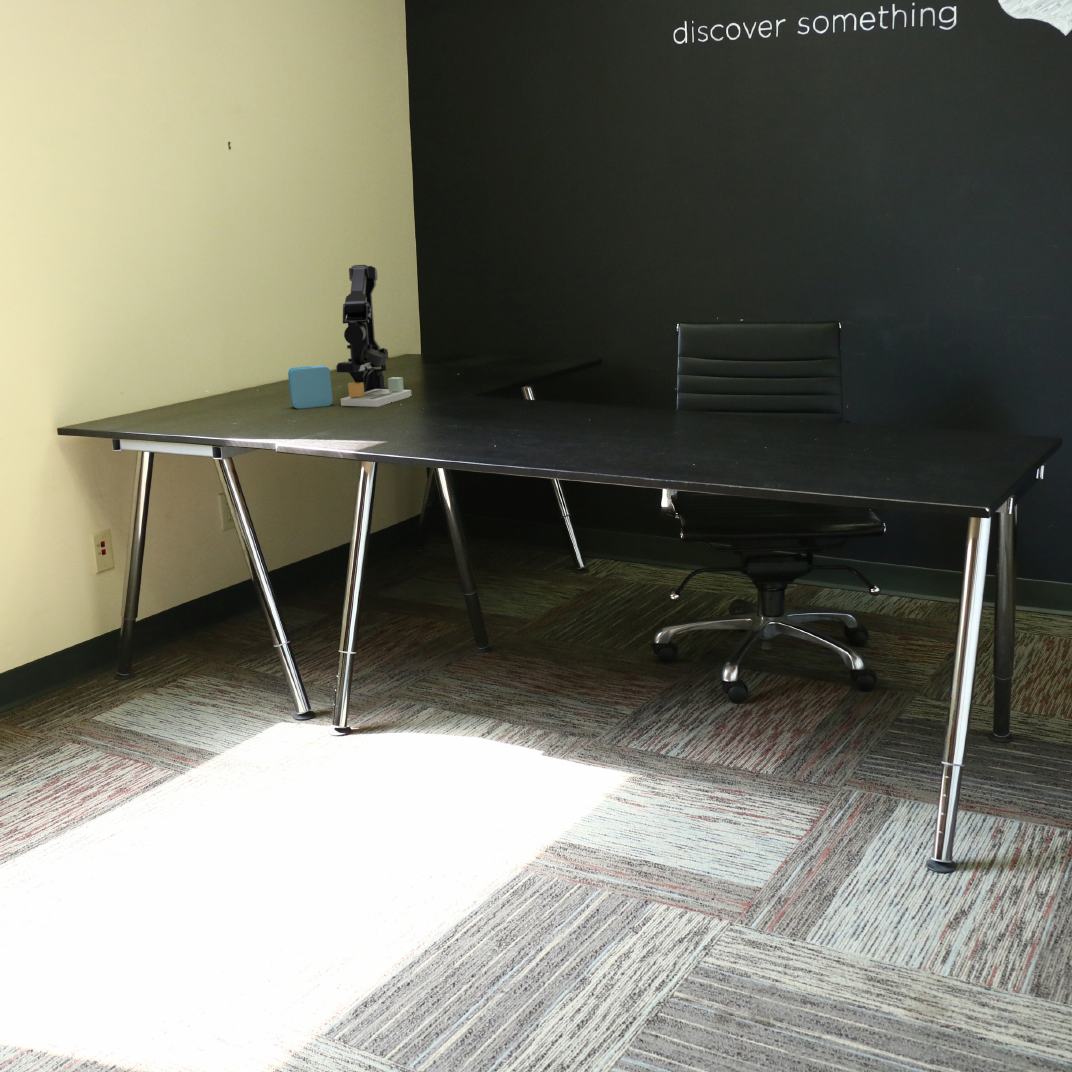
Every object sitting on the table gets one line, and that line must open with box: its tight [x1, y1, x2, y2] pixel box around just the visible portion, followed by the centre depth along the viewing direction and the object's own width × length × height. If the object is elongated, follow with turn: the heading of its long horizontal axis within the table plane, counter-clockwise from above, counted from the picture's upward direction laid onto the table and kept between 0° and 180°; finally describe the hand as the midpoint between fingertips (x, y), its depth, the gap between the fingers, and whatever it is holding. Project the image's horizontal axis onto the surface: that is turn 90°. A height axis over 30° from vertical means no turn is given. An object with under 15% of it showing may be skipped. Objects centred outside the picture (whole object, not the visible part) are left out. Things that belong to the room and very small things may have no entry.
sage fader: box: [387, 376, 405, 392], centre depth 365 cm, size 4×3×4 cm
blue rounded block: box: [287, 364, 334, 410], centre depth 356 cm, size 12×4×12 cm, turn 110°
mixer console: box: [340, 388, 412, 408], centre depth 362 cm, size 13×20×2 cm, turn 155°
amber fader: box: [347, 381, 364, 397], centre depth 358 cm, size 4×3×4 cm
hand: (363, 392), depth 361 cm, fingers closed
